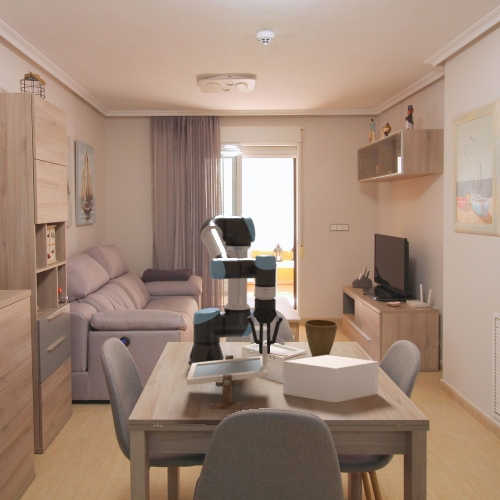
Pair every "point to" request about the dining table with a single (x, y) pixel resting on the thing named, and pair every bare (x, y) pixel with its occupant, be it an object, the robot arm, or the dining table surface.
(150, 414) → the dining table surface
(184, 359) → the dining table surface
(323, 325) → the plant pot
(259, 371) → the tilted frame
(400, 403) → the dining table surface
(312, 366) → the block
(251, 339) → the candle holder
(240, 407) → the walnut stand
